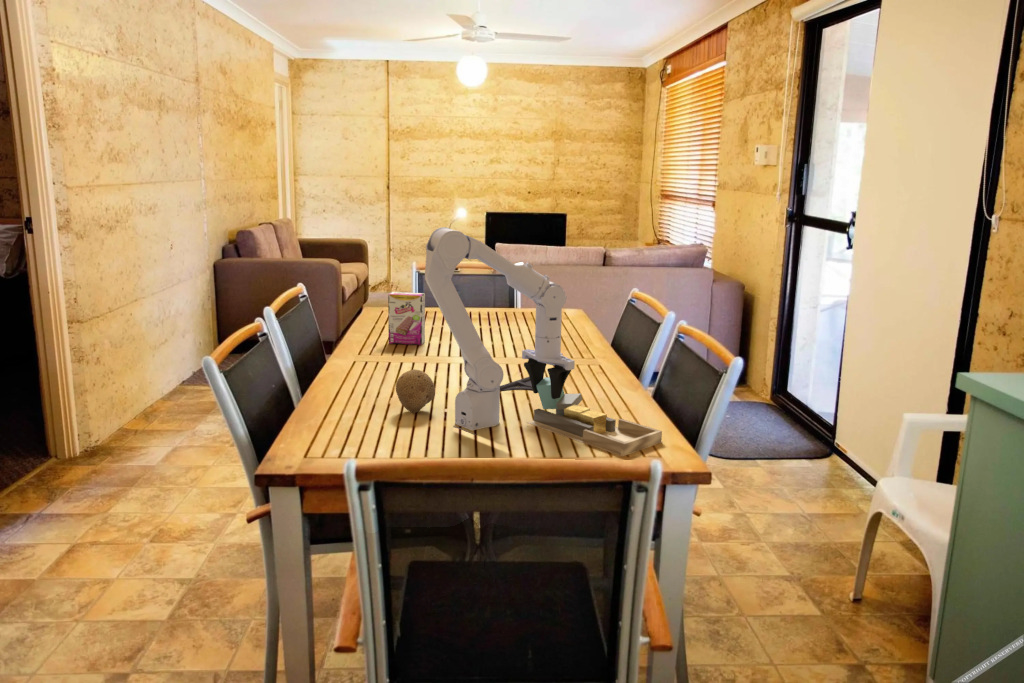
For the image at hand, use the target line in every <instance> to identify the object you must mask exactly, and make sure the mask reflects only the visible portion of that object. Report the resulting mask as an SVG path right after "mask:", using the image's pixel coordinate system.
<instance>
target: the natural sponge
mask: <svg viewBox="0 0 1024 683" xmlns="http://www.w3.org/2000/svg"><path fill="white" fill-rule="evenodd" d="M395 392H396V395H397V397H398V400H399V402H400V404H401V405H402V406H403V407H404V408H405V409H406V410H407V411H408V412H409V413H415V414H416V413H418V412H421V410H422V409H423V408H424V407H426V405H427V404H429V403H431V401H433V399H434V398H435V395H436V387H435V384H434V382H433V379H432V378H431V377H430V375H429V374H427V373H426V372H424V371H423V370H419V369H415V368H414V369H410V370H408V371H407V370H406V371H405V372H403V373H402V374H401V375H400V376H399V377H398V379H397V380H396V383H395Z"/></svg>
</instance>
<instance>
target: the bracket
mask: <svg viewBox="0 0 1024 683" xmlns="http://www.w3.org/2000/svg"><path fill="white" fill-rule="evenodd" d="M522 390H524V391H525V390H526V391H527V390H528V391H529V390H530V391H533V388H532V384H531V380H530V377H529V376H527V377H524V378H521V379H518V380H517V379H516V380H515V381H511V382H508V383H505V384H502V385H500V392H506V391H522Z"/></svg>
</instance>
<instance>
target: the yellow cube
mask: <svg viewBox="0 0 1024 683" xmlns="http://www.w3.org/2000/svg"><path fill="white" fill-rule="evenodd" d="M606 417H608V416H607V414H606V413H604V412H601V411H599V410H594V409H590V411H587V412H583V413H580V421H579V422H582V423H585V424H588V425H591V426H594V432H595V433H598V434H602V433H605V432H606Z"/></svg>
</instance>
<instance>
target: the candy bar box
mask: <svg viewBox="0 0 1024 683" xmlns="http://www.w3.org/2000/svg"><path fill="white" fill-rule="evenodd" d="M387 296H388V299H387V300H388V302H387V303H388V306H387V307H388V311H387V312H388V314H387V315H388V318H387V319H388V344H390V345H391V344H393V345H413V346H415V345H416V346H423V344H425V341H426V334H425V333H426V329H425V328H426V294H425V293H424V292H422V293H421V292H405V291H403V292H401V291H391V292H390V293H388V295H387Z"/></svg>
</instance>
